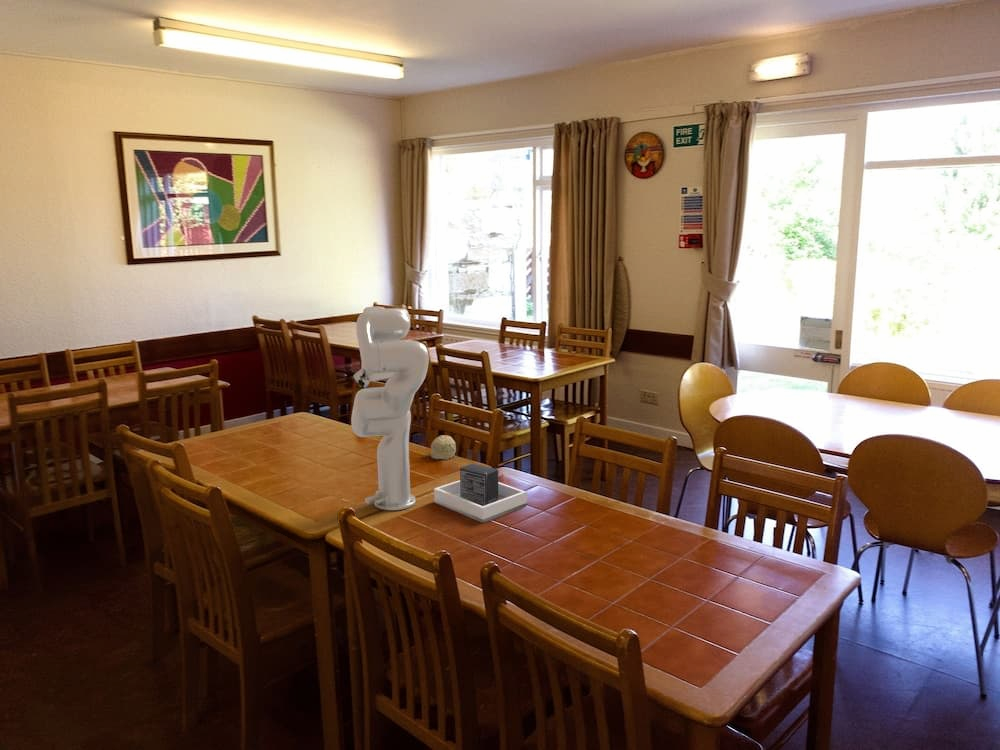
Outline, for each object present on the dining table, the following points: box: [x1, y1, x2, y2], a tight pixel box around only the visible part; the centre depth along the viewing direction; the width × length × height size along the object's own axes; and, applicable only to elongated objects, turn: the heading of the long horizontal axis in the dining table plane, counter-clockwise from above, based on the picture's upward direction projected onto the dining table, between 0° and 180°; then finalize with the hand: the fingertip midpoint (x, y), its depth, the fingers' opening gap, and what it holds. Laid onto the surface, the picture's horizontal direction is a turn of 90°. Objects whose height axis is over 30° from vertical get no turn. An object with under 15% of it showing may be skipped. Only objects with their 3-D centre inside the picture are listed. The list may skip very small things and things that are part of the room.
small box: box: [459, 463, 499, 506], centre depth 217 cm, size 11×6×10 cm, turn 53°
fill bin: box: [433, 479, 527, 524], centre depth 217 cm, size 18×22×4 cm
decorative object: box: [430, 434, 457, 460], centre depth 263 cm, size 9×10×10 cm
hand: (378, 395), depth 236 cm, fingers open, 9 cm apart
